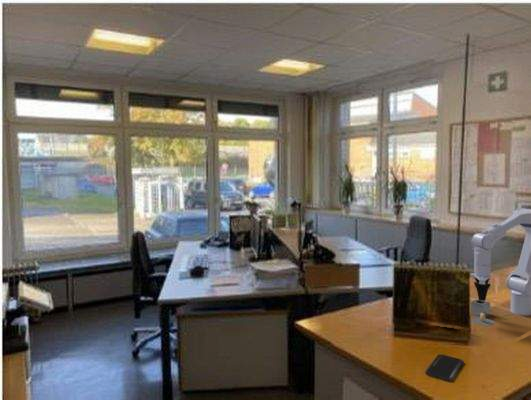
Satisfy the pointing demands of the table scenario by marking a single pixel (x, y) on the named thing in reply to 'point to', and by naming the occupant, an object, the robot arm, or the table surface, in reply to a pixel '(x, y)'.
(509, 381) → the table surface
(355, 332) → the table surface
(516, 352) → the table surface
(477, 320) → the hub plate
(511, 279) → the robot arm
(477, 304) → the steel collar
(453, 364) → the phone
